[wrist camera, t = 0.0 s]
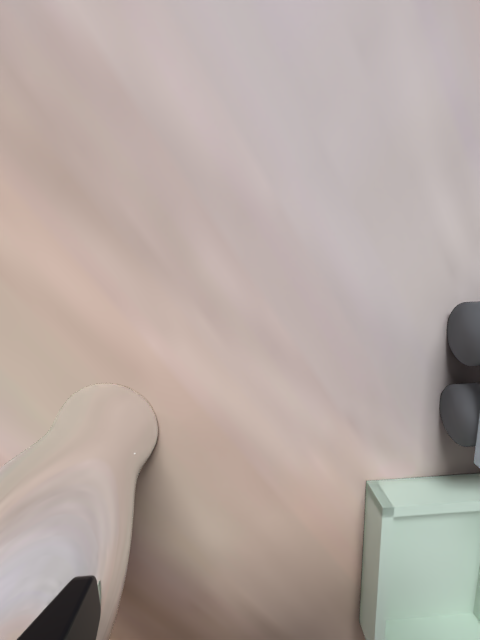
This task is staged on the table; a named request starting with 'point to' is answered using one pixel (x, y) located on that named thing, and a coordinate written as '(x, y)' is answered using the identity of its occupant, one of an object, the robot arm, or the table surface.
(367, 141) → the table surface
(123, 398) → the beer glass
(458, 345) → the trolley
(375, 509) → the tray
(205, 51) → the table surface
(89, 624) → the robot arm
